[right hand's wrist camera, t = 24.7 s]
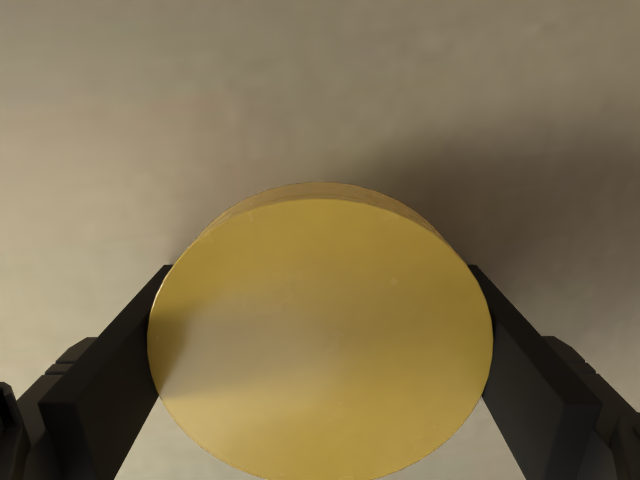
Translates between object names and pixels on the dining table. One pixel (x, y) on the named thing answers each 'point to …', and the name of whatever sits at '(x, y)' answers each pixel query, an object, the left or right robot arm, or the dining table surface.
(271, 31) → the dining table surface
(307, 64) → the dining table surface
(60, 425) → the right robot arm
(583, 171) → the dining table surface
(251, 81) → the dining table surface
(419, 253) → the lid
